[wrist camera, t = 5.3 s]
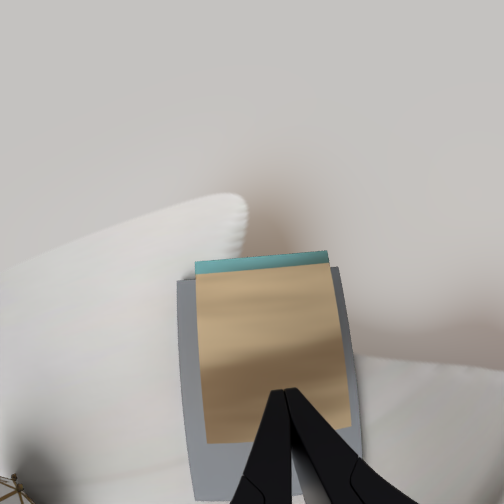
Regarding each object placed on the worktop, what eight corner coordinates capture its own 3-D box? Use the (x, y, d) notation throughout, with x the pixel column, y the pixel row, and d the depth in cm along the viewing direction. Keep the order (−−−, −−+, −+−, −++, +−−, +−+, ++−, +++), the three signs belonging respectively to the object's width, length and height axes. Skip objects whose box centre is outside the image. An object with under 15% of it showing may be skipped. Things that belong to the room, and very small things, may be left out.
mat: (359, 477, 12) (362, 480, 12) (197, 497, 12) (195, 500, 12) (335, 269, 18) (338, 266, 17) (179, 283, 18) (176, 280, 17)
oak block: (352, 426, 10) (327, 250, 13) (206, 443, 10) (195, 261, 13) (326, 412, 14) (309, 280, 17) (219, 424, 14) (209, 289, 17)
